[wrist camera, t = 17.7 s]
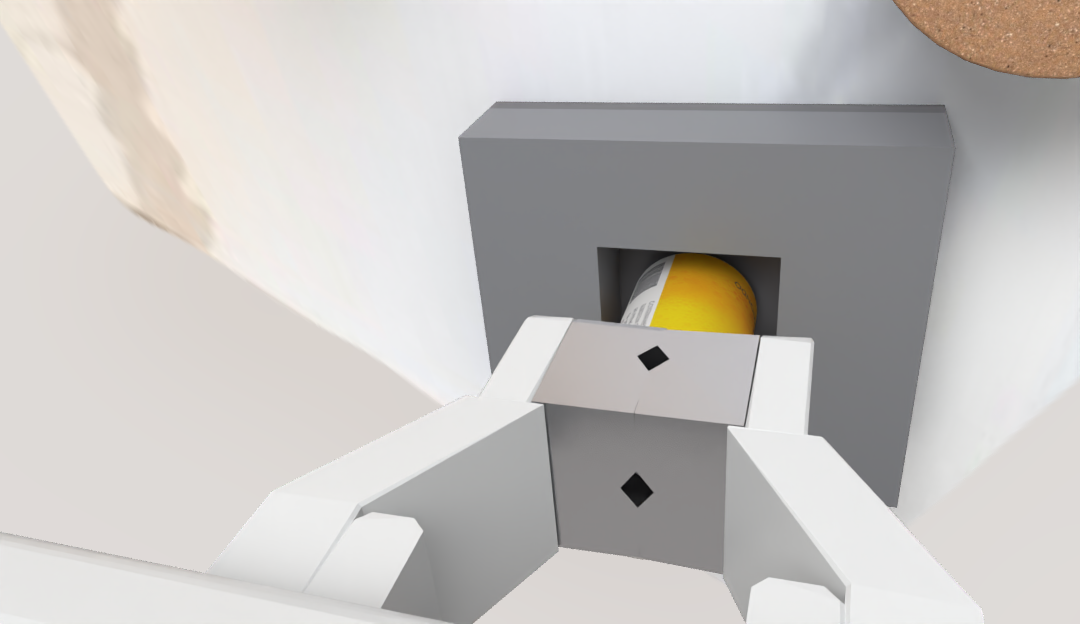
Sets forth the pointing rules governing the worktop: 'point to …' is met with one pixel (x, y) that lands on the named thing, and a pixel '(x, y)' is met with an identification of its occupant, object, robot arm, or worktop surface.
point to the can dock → (729, 233)
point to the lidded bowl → (1004, 33)
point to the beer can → (693, 297)
